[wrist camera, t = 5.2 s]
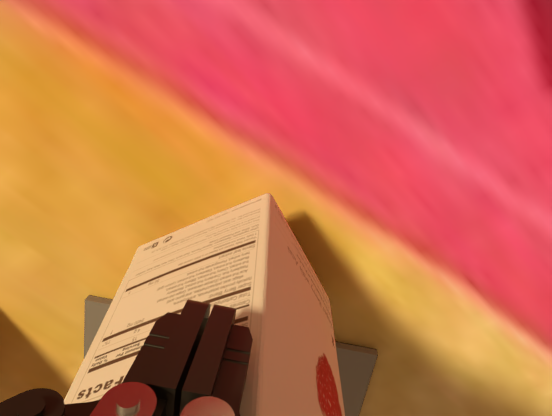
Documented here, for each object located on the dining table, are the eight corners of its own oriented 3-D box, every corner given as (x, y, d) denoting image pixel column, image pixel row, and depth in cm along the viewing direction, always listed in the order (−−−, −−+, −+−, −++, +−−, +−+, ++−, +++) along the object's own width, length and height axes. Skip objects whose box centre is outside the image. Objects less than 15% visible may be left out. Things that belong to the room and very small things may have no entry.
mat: (376, 349, 29) (377, 355, 28) (332, 491, 34) (332, 499, 33) (89, 295, 29) (84, 300, 28) (86, 444, 34) (82, 450, 33)
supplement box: (334, 300, 27) (381, 622, 14) (211, 340, 29) (155, 651, 16) (272, 186, 22) (259, 502, 10) (133, 243, 25) (-27, 564, 12)
